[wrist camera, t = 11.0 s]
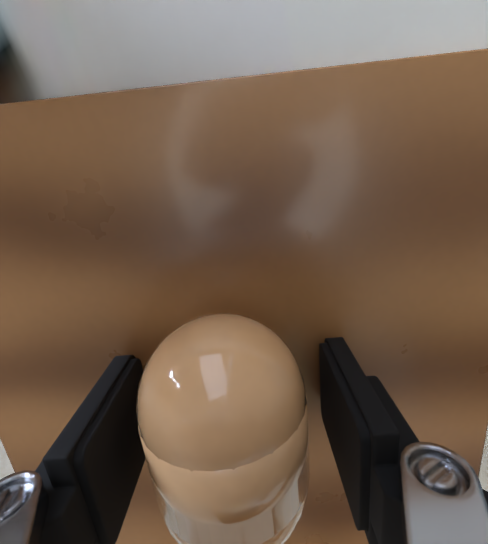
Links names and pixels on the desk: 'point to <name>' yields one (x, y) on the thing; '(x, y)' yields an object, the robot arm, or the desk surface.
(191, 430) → the beige ridged oval
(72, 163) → the wooden board
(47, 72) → the desk surface
